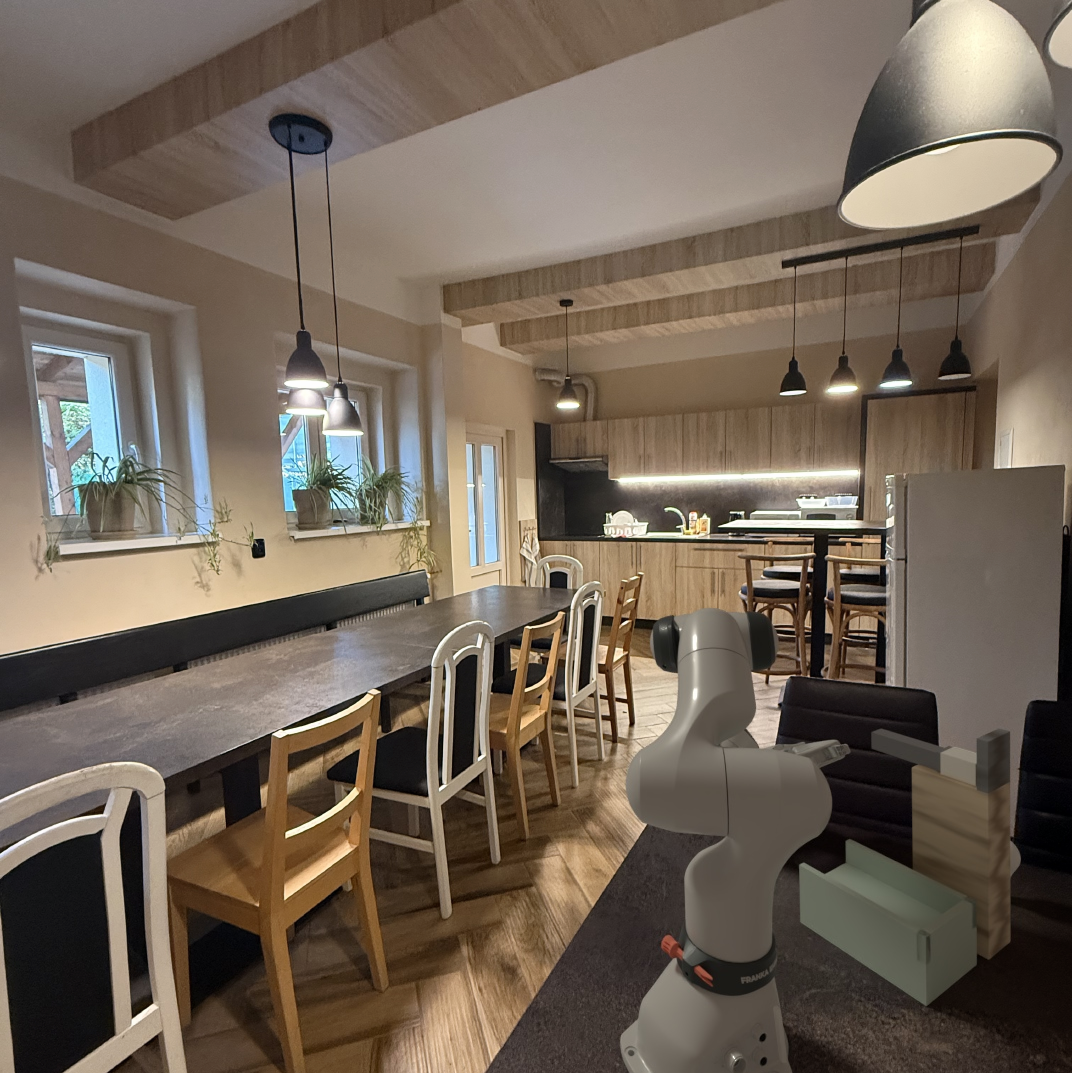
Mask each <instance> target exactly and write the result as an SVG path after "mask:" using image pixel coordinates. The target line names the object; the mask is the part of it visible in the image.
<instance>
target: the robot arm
mask: <svg viewBox="0 0 1072 1073" xmlns="http://www.w3.org/2000/svg"><path fill="white" fill-rule="evenodd" d="M779 643H780V641H779V636H778V633H777V629H776V628H775V626H774V625H773V623H772V621H771V618H770V617H768V616H767V615H766V614H765V613H763V612H757V611H752V610H750V611H749V610H747V611H746V612H738V611H726V610H723V609H720V608H718V607H717V608H716V607H705V608H704V607H703V608H700V609H697V610H695V611H693V612H691V613H687V614H680V615H676V616H675V615H674V614H670V615H667V616H663V617H659V618H658V619H657V620H656V622H655V623H654V624H653V625H652V630H651V633H650V637H649V646H650V647H649V648H650V651H651V655H652V657H653V659H654V660H655V664H656V666H657V667H658V668H660V670H662V671H663V672H667V673H671V674H677V698H676V699H677V700H676V708H675V712H674V715H673V717H672V719H671V721H670V723H669V725H668V726H667V727H666V729H665V730H664V731H663V732H662V733H661V734H660V735H659V736H658V737H657V738H656V739H655V740H654V741H652V742H651V743H649V744H648V745H645V746H644V747H642V748H640V750H638V752H637V753H635V755H634V756H633V758H632V759H631V760H630V762H629V764H628V765H629V766H628V768H627V772H626V775H625V776H626V777H625V792H626V796H627V800H628V804H629V806H630V808H631V809H632V812H633V813H634V815H635V816H636V817H637V819H638V820H639V821H640V822H641V823H642V824H645V825H649V826H653V827H656V828H658V829H662V830H666V831H670V832H673V833H681V834H690V835H691V834H692V835H694V834H695V835H704V836H705V835H706V836H719V837H724V838H723V839H722V840H720V841H718V842H717V843H715V844H713V845H711V846H708V847H706V848H704V849H702V850H701V851H699V852H698V853H696V855H695V856H694V857H693V858H692V860H690V862H689V864H688V866H687V868H686V869H685V873H684V878H683V879H684V880H683V882H684V905H685V906H684V907H685V908H684V911H685V918H684V920H683V923H682V925H681V926H682V927H681V929H680V934H679V938H678V941H676V940H675V938H674V937H673V936H672V935H670V934H667V935H665V936H664V937H663V939H662V941H661V945H660V947H661V949H662V951H663V952H664V953H666V954H668V955H669V957H670V958H671V959H672V960H671V961H670V962H669V963H668V964H667V966H666V967H665V969H664V970H663V971H662V972H661V974H660V976H659V977H658V978H657V979H656V981H655V982H654V984H653V985H652V987H651V988H650V989H649V990H648V992H647V993H646V994H645V995H644V997H643V999H642V1001H641V1003H640V1005H639V1009H638V1010H639V1011H638V1018H637V1019H636V1020H635V1021H634V1022H632V1024H630V1026H628V1027H627V1029H625V1030H624V1031H623V1033H621V1035H620V1042H619V1046H620V1053H621V1057H622V1060H623V1063H624V1065H625V1067H626V1069H627V1071H628V1073H793V1071H792V1068H791V1065H790V1062H789V1042H788V1040H789V1039H788V1036H787V1033H786V1030H785V1028H784V1024H783V1017H782V1016H783V1015H782V1009H781V1004H780V999H779V995H778V994H779V993H778V990H777V988H778V987H777V982H776V977H775V976H776V973H777V967H778V964H777V962H778V952H777V946H776V944H777V942H776V937H775V934H774V932H773V908H774V907H773V906H774V905H773V904H774V895H775V894H774V893H775V886H776V882H777V879H778V877H779V876H780V873H781V871H782V869H783V867H784V866H785V864H786V863H787V861H788V860H789V859H790V858H791V856H792V855H793V854H795V852H796V851H797V850H798V849H800V848H801V847H803V845H805V844H806V843H808V842H810V841H811V840H813V839H815V838H817V837H819V836H820V835H821V834H822V833H823V831H824V830H825V829H826V827H827V825H828V824H829V822H830V818H831V814H832V809H833V797H832V792H831V789H830V784H829V782H828V780H827V778H826V777H825V774H824V773H823V771H822V769H821V768H822V767H825V766H827V765H829V764H830V765H831V764H832V763H835V762H837V761H840V760H842V759H844V758H845V757H846V755H849V754H851V749H850V747H849V745H848V744H847V743H844V744H841V742H840V741H839V740H837V739H828V740H822V741H821V740H820V741H814V742H810V743H806V742H805V741H801V742H797V743H791V744H781V743H780V744H775V745H771V746H768V747H764V748H760V745H759V744H758V742H757V741H756V739H755V738H754V736H753V735H752V734H751V732H750V731H749V730H748V729H747V728H748V727H749V726H750V724H751V723H752V722H753V721H754V718H755V716H756V713H757V702H756V701H757V700H756V697H755V696H756V694H755V688H754V681H753V674H752V672H754V673H755V672H760V671H764V670H767V669H771V667H772V666H773V665H774V664H775V663H776V658H777V656H778V651H779V647H780V646H779Z"/></svg>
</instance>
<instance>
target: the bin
mask: <svg viewBox="0 0 1072 1073" xmlns="http://www.w3.org/2000/svg"><path fill="white" fill-rule="evenodd" d="M798 869H799V872H798V873H799V874H798V875H799V880H798V881H799V914H800V915H799V917H800V919H799V922H800V923H801V924H802V925H803V926H805V927H807V928H809V929H810V930H811V931H813V932H815V934H817V935H819V936H820V937H822V938H823V939H825V940H826V941H828V942H829V943H830V944H832V945H833V946H835V947H837V948H838V949H839V950H841V951H843V952H844V953H846V954H847V955H849V956H850V957H852V958H853V959H855V960H856V961H858V962H859V963H861V964H862V965H863V966H865V967H866V968H868V969H869V970H871V971H873V972H875V973H876V974H877V975H878V976H880V977H882V978H883V979H885V980H886V981H888V982H889V983H891V984H892V985H894V986H895V987H897V988H898V989H900V990H901V991H903V992H904V993H906V994H907V995H908V996H910V997H912V998H913V999H915V1000H916V1001H918V1002H919V1003H920V1004H922V1005H924V1006H925V1007H927V1006H928V1005H930V1004H932V1002H933V1001H935V1000H936V999H937V998H938V997H939V996H941V995H942V994H943V993H944V992H946V991H947V990H948V989H950V987H952V986H953V985H954V984H955V983H956V982H958V981H959V980H960V979H962V978H963V977H964V976H965V975H966V974H968V972H970V971H971V970H972V969H973V968H974V967H977V965H978V964H977V963H978V962H977V961H978V959H977V956H978V954H977V915H976V900H974V899H972V898H970V897H968V896H966V895H964V894H962V893H959V892H957V891H955V890H953V889H951V888H949V887H947V886H945V885H943V884H941V883H939V882H937V881H935V880H933V879H931V878H929V877H927V876H925V875H923V874H921V873H919V872H917V871H914V870H913V868H910V867H908V866H906V865H904V864H902V863H900V862H898V861H895V860H894V859H892V858H890V857H887V856H885V855H884V854H882V853H880V852H878V851H876V850H874V849H871V848H869V847H867V846H865V845H863V844H861V843H859V842H857V841H855V840H853V839H851V838H849V839H847V840H845V863H843V864H841V865H839V866H837V867H836V868H834V869H832V870H830V871H828V872H826V873H823V872H821V871H820V870H818V869H816V868H814V867H812V866H811V865H809V864H807V863H805V862H802V863H800V864H798Z"/></svg>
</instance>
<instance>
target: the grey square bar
mask: <svg viewBox="0 0 1072 1073" xmlns="http://www.w3.org/2000/svg"><path fill="white" fill-rule="evenodd" d="M870 733H871V749H872V750H875V751H877V752H880V753H884V754H886V755H889V756H893V757H895V758H899V759H901V760H905V761H907V762H909V763H913V764H916V765H918V764H919V765H922V766H924V767H927V768H930V769H933V770H936V771H938V772H941V774H942V775H945V776H948V777H951V778H954V779H957V780H960V781H963V782H966V783H968V784H971V785H974V786H977V751H972V750H970V749H969V750H968V749H965V748H963V747H962V748H961V747H959V746H950V745H947V746H946V747H943V746H940V745H936V744H934V743H930V742H926V741H923V740H920V739H916V738H913V737H910V736H906V735H904V734H900V733H897V732H894V731H892V730H888V729H885V728H884V729H883V728H879V729H876V730H873V731H871V732H870Z"/></svg>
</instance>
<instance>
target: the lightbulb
mask: <svg viewBox="0 0 1072 1073" xmlns="http://www.w3.org/2000/svg"><path fill="white" fill-rule="evenodd" d="M1021 860H1022V859H1021V853H1020V850H1019V849H1018V847H1017V846H1016V844H1014V842H1013V841H1011V840H1010V879H1011V878H1012V875H1013V874H1014V872H1016V870H1018V868H1019V866H1020V865H1021Z"/></svg>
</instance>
